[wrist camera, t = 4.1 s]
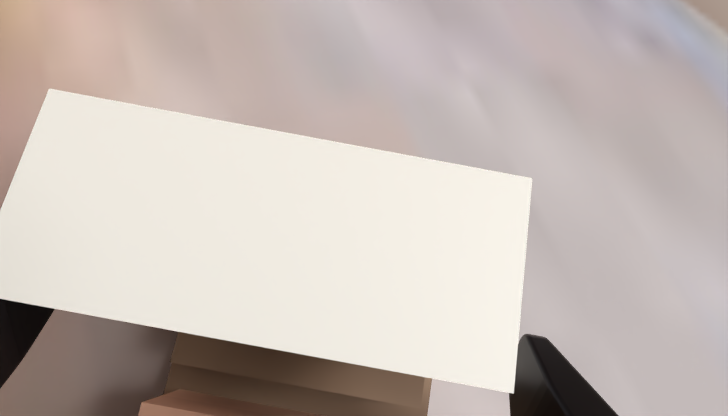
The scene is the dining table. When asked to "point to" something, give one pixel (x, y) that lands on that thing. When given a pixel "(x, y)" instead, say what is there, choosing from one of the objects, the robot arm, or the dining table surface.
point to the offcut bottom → (236, 403)
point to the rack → (293, 380)
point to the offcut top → (188, 408)
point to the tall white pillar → (268, 240)
